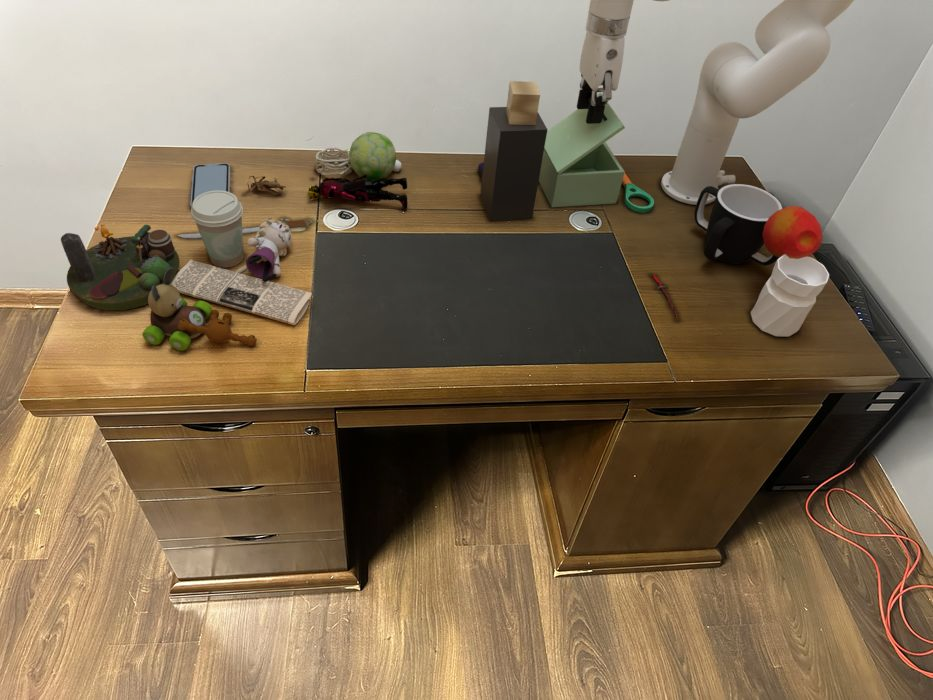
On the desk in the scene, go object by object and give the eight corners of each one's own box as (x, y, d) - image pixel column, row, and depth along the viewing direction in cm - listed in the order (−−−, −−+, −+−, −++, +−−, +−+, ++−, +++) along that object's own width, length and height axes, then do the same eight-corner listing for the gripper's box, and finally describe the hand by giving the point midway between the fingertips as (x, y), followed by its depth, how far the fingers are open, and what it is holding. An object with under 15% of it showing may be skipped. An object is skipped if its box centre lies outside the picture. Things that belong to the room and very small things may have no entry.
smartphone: (189, 207, 135) (193, 164, 144) (190, 210, 135) (194, 168, 145) (229, 204, 136) (229, 162, 146) (229, 208, 137) (230, 166, 146)
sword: (178, 248, 127) (176, 232, 130) (178, 249, 127) (177, 233, 130) (313, 229, 134) (309, 214, 137) (314, 230, 134) (309, 215, 137)
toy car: (192, 354, 109) (175, 302, 101) (140, 342, 110) (120, 290, 102) (218, 315, 116) (205, 264, 108) (169, 305, 116) (152, 253, 108)
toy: (253, 247, 114) (277, 203, 125) (206, 269, 117) (234, 225, 129) (284, 285, 118) (305, 239, 130) (238, 306, 122) (263, 260, 133)
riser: (520, 193, 148) (534, 105, 133) (532, 218, 142) (547, 129, 127) (480, 196, 146) (489, 107, 132) (489, 221, 140) (500, 131, 126)
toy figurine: (260, 315, 115) (258, 336, 110) (254, 333, 117) (252, 355, 111) (185, 296, 111) (179, 318, 105) (180, 315, 112) (174, 337, 107)
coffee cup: (209, 277, 122) (195, 221, 114) (198, 249, 127) (183, 194, 119) (257, 265, 125) (247, 210, 117) (244, 238, 130) (233, 184, 122)
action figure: (407, 188, 148) (313, 188, 147) (406, 161, 145) (310, 161, 143) (407, 219, 137) (305, 220, 135) (406, 191, 133) (301, 192, 132)
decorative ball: (359, 115, 141) (376, 137, 150) (332, 155, 141) (351, 175, 150) (396, 136, 138) (411, 157, 148) (369, 178, 138) (386, 196, 148)
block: (531, 112, 131) (536, 81, 127) (535, 125, 128) (540, 94, 124) (505, 111, 131) (509, 80, 127) (508, 124, 127) (512, 93, 123)
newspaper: (293, 320, 114) (294, 327, 115) (312, 292, 119) (313, 299, 120) (166, 285, 118) (169, 292, 119) (189, 259, 122) (192, 266, 123)
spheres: (365, 142, 158) (356, 143, 156) (366, 132, 156) (357, 133, 155) (402, 173, 150) (393, 174, 149) (404, 162, 149) (395, 163, 147)
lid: (602, 95, 144) (590, 76, 140) (625, 127, 135) (614, 108, 131) (540, 139, 148) (528, 122, 145) (559, 174, 139) (546, 157, 136)
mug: (773, 284, 132) (799, 233, 124) (689, 269, 134) (709, 218, 125) (763, 234, 144) (787, 185, 135) (686, 221, 145) (705, 171, 136)
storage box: (595, 169, 157) (602, 137, 151) (616, 203, 148) (624, 171, 142) (534, 172, 154) (539, 140, 148) (551, 207, 145) (557, 175, 139)
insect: (280, 168, 137) (293, 182, 141) (243, 169, 139) (257, 182, 144) (275, 188, 135) (288, 201, 140) (238, 189, 138) (252, 201, 143)
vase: (759, 336, 122) (787, 285, 113) (744, 303, 128) (769, 252, 119) (806, 337, 123) (838, 287, 114) (789, 304, 129) (817, 253, 120)
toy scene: (76, 254, 124) (54, 204, 116) (181, 241, 128) (167, 192, 121) (66, 321, 112) (42, 271, 105) (183, 305, 117) (167, 255, 109)
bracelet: (314, 163, 150) (350, 161, 152) (318, 179, 144) (356, 177, 146) (312, 145, 148) (350, 144, 150) (317, 161, 142) (355, 159, 144)
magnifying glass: (657, 211, 147) (659, 205, 146) (631, 214, 146) (633, 207, 144) (629, 173, 157) (631, 166, 156) (604, 174, 156) (606, 168, 154)
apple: (830, 205, 113) (800, 196, 125) (774, 222, 115) (750, 211, 126) (838, 258, 116) (808, 244, 128) (784, 274, 118) (759, 259, 129)
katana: (660, 273, 132) (659, 275, 132) (652, 273, 131) (651, 275, 132) (682, 321, 123) (681, 324, 124) (673, 321, 123) (672, 324, 124)
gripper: (644, 41, 121) (620, 136, 134) (610, 4, 132) (592, 94, 145) (603, 42, 119) (584, 138, 132) (573, 4, 131) (558, 96, 144)
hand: (588, 114), depth 139 cm, fingers closed on lid, 5 cm apart
